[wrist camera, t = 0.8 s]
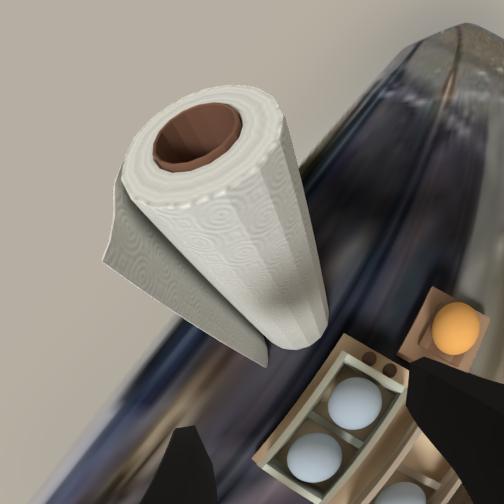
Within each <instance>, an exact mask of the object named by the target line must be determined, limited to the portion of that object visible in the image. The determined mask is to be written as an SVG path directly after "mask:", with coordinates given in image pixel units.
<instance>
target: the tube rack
mask: <svg viewBox="0 0 504 504" xmlns="http://www.w3.org/2000/svg"><path fill="white" fill-rule="evenodd" d="M353 377H361V378H365V379H368V380H370V381H371V382H373V383H374V384H375V385H376V386H377V387H378V389H379V391H380V393H381V397H382V406H381V410H380V413H379V414H378V416H377V418H376V419H375V420H374V421H373V422H372V423H371V424H369V425H368V426H366V427H364V428H361V429H356V430H350V429H345V428H342V427H340V426H339V425H337V424H336V423H335V422H334V421H333V420H332V418H331V416H330V414H329V411H328V400H329V397H330V394H331V392H332V391H333V389H334V388H335V387H336V386H337V385H338V384H339V383H340V382H342V381H344V380H346V379H349V378H353ZM408 379H409V370H407V369H405V368H404V367H402V366H400V365H398V364H397V363H395V362H393V361H391V360H390V359H388V358H386V357H384V356H383V355H381V354H379V353H378V352H376V351H374V350H372V349H371V348H369V347H367V346H365V345H364V344H362V343H360V342H359V341H357V340H355V339H353V338H352V337H350V336H348V335H347V334H345V333H344V334H343V335H342V337H341V338H340V340H339V341H338V343H337V345H336V346H335V348H334V349H333V351H332V352H331V354H330V355H329V357H328V358H327V360H326V361H325V363H324V364H323V365H322V367H321V368H320V370H319V371H318V373H317V374H316V376H315V377H314V378H313V380H312V381H311V383H310V384H309V385H308V387H307V388H306V390H305V391H304V392H303V394H302V395H301V396H300V398H299V399H298V401H297V402H296V403H295V405H294V406H293V407H292V409H291V410H290V411H289V413H288V414H287V415H286V416H285V418H284V419H283V420H282V422H281V423H280V424H279V425H278V427H277V428H276V429H275V431H274V432H273V433H272V434H271V436H270V437H269V438H268V439H267V440H266V442H265V443H264V444H263V445H262V447H261V448H260V449H259V450H258V451H257V453H256V454H255V455H254V456H253V457H252V460H254V461H255V462H256V463H258V464H257V465H258V466H259V467H261V468H262V469H263V470H265V471H266V472H268V473H269V474H270V475H272V476H273V477H275V478H276V479H278V480H279V481H281V482H282V483H284V484H285V485H287V486H288V487H290V488H291V489H293V490H294V491H296V492H297V493H299V494H300V495H302V496H303V497H305V498H307V499H308V500H310V501H312V502H313V503H315V504H374V503H375V500H376V498H377V497H378V495H379V494H380V493H381V492H382V491H383V490H384V489H385V488H387V487H388V486H390V485H392V484H395V483H399V482H410V483H414V484H416V485H418V486H419V487H420V488H421V489H422V490H423V492H424V493H425V497H426V504H447V503H448V501H449V500H450V499H451V497H452V496H453V495H454V493H455V492H456V490H457V489H458V488H459V486H460V485H461V483H462V482H461V480H460V479H459V477H458V475H457V474H456V472H455V471H454V470H453V468H452V467H451V466H450V464H449V463H448V462H447V461H446V460H445V458H444V457H443V456H442V455H441V454H440V452H439V451H438V450H437V449H436V448H435V446H434V445H433V444H432V443H431V442H430V440H429V439H428V438H427V437H426V436H425V434H424V433H423V432H422V431H421V429H420V428H419V427H418V426H417V424H416V422H415V421H414V419H413V418H412V416H411V414H410V412H409V411H408V409H407V407H406V406H405V404H406V396H407V388H408ZM309 433H323V434H327V435H329V436H331V437H332V438H334V439H335V440H336V441H337V443H338V444H339V446H340V448H341V451H342V461H341V464H340V467H339V468H338V470H337V471H336V473H335V474H334V475H332V476H331V477H330V478H328V479H326V480H324V481H321V482H315V483H310V482H305V481H302V480H300V479H298V478H297V477H295V476H294V475H293V474H292V472H291V471H290V469H289V467H288V463H287V455H288V451H289V449H290V447H291V445H292V444H293V443H294V442H295V441H296V440H297V439H298V438H300V437H301V436H303V435H306V434H309Z"/></svg>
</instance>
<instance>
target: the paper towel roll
mask: <svg viewBox="0 0 504 504" xmlns="http://www.w3.org/2000/svg"><path fill="white" fill-rule="evenodd" d="M113 213H114V216H113V221H112V226H111V231H110V237H109V242H108V245H107V247H106V250H105V252H104V255H103V258H102V260H101V262H103V263H104V264H105V265H107V266H108V267H110V268H111V269H112V270H114V271H115V272H116V273H118V274H119V275H121V276H122V277H123V278H125V279H126V280H128V281H129V282H131V283H132V284H133V285H135V286H136V287H138V288H139V289H141V290H142V291H143V292H145V293H146V294H148V295H149V296H151V297H152V298H154V299H155V300H156V301H158V302H160V303H161V304H163V305H164V306H165V307H167V308H169V309H170V310H172V311H173V312H175V313H176V314H178V315H179V316H181V317H182V318H184V319H185V320H187V321H188V322H190V323H192V324H193V325H195V326H196V327H198V328H200V329H201V330H203V331H204V332H206V333H208V334H209V335H211V336H212V337H214V338H216V339H217V340H219V341H221V342H222V343H224V344H226V345H227V346H229V347H231V348H232V349H234V350H236V351H237V352H239V353H241V354H243V355H244V356H246V357H248V358H249V359H251V360H253V361H255V362H256V363H258V364H260V365H262V366H264V367H265V368H267V364H268V352H267V347H266V344H265V341H264V338H263V335H264V336H265V337H266V338H267V339H268V340H270V341H271V342H272V343H274V344H275V345H277V346H279V347H281V348H283V349H291V350H298V349H302V348H305V347H308V346H310V345H312V344H313V343H314V342H316V341H317V340H318V339H319V338H321V336H322V334H323V333H324V331H325V329H326V327H327V325H328V317H329V309H328V304H327V299H326V293H325V288H324V283H323V278H322V272H321V267H320V262H319V258H318V253H317V248H316V243H315V238H314V234H313V229H312V225H311V220H310V216H309V211H308V207H307V202H306V198H305V194H304V190H303V185H302V181H301V177H300V173H299V169H298V165H297V161H296V157H295V154H294V149H293V145H292V142H291V138H290V134H289V130H288V126H287V123H286V119H285V116H284V114H283V112H282V110H281V108H280V106H279V105H278V103H277V101H276V99H275V97H273V96H271V95H269V94H267V93H266V92H264V91H262V90H260V89H258V88H256V87H251V86H242V85H225V86H219V87H213V88H207V89H203V90H201V91H198V92H195V93H193V94H191V95H188V96H186V97H183V98H181V99H179V100H177V101H175V102H174V103H172V104H171V105H169V106H168V107H166V108H165V109H163V110H162V111H160V112H159V113H157V114H156V115H155V116H153V117H152V118H151V120H150V121H149V122H148V123H147V124H146V125H145V126H144V127H143V128H142V129H141V130H140V131H139V132H138V133H137V134H136V135H135V137H134V139H133V141H132V143H131V145H130V147H129V149H128V151H127V153H126V155H125V157H124V159H123V162H122V164H121V166H120V169H119V171H118V174H117V177H116V179H115V182H114V184H113ZM262 334H263V335H262Z"/></svg>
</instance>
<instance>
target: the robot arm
mask: <svg viewBox="0 0 504 504" xmlns="http://www.w3.org/2000/svg"><path fill="white" fill-rule="evenodd" d="M405 406H406V407H407V409H408V411H409V412H410V414H411V416H412V418H413V419H414V421H415V422H416V424H417V426H418V427H419V428H420V429H421V431H422V432H423V433H424V434H425V436H426V437H427V438H428V439H429V440H430V442H431V443H432V444H433V445H434V446H435V448H436V449H437V450H438V451H439V452H440V454H441V455H442V456H443V457H444V458H445V460H446V461H447V462H448V463H449V464H450V466H451V467H452V468H453V470H454V471H455V472H456V474H457V475H458V477H459V479H460V480H461V482H462V484H463V485H464V487H465V489H466V490H467V492H468V494H469V496H470V498H471V499H472V501H473V503H474V504H504V384H501V383H498V382H494V381H491V380H487V379H484V378H481V377H478V376H475V375H473V374H470V373H467V372H464V371H462V370H459V369H456V368H454V367H451V366H449V365H446V364H444V363H441V362H438V361H436V360H433V359H430V358H427V357H422V358H420V359H417V360H415V361H413V362H410V368H409V379H408V388H407V396H406V404H405ZM139 504H217V490H216V483H215V477H214V472H213V466H212V462H211V460H210V458H209V456H208V454H207V452H206V450H205V447H204V445H203V443H202V441H201V439H200V437H199V434H198V432H197V430H196V427H195V426H188V427H182V428H176V429H175V430H174V431H173V434H172V437H171V439H170V442H169V444H168V447H167V449H166V452H165V454H164V456H163V458H162V461H161V463H160V465H159V467H158V469H157V471H156V473H155V475H154V478H153V480H152V482H151V484H150V485H149V487H148V489H147V491H146V493H145V494H144V496H143V498H142V500H141V501H140V503H139Z"/></svg>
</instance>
